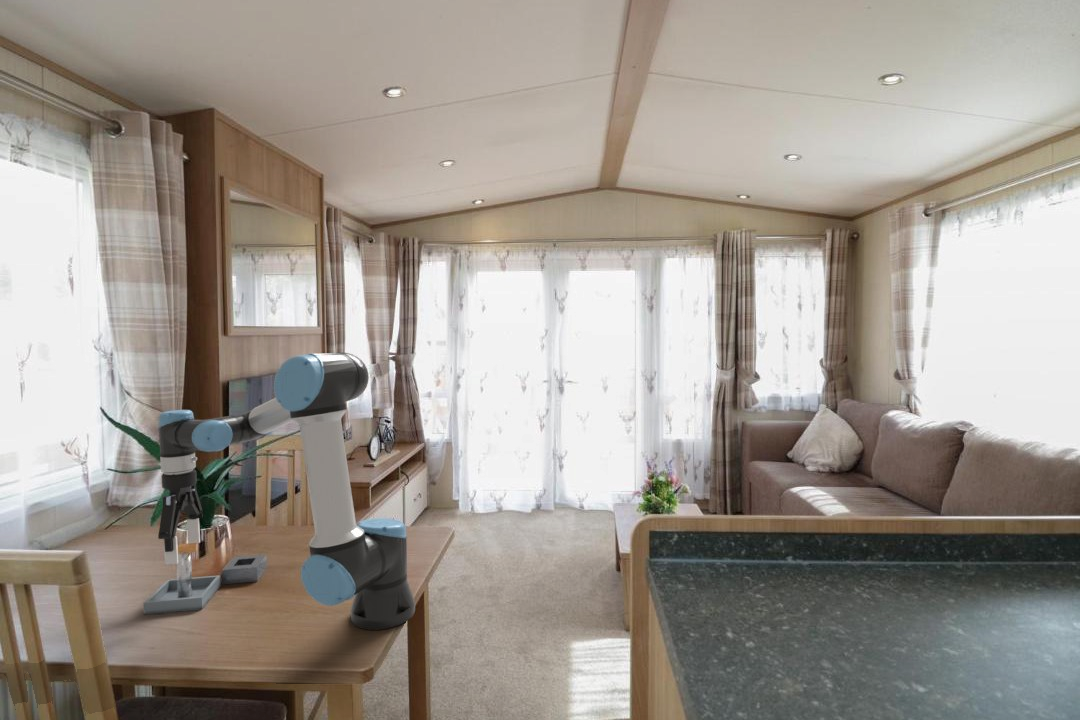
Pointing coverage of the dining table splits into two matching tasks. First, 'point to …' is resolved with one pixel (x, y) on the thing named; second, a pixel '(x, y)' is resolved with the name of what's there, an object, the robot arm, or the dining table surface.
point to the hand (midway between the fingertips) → (183, 552)
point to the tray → (169, 602)
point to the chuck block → (244, 569)
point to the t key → (185, 569)
